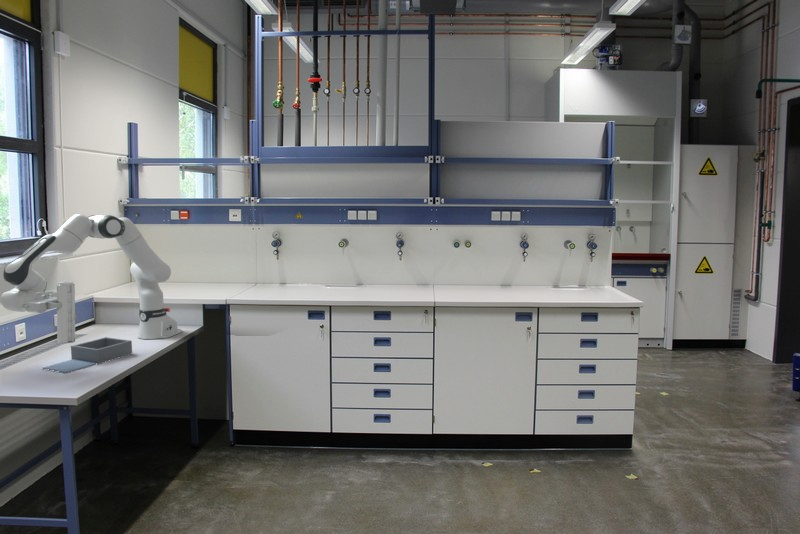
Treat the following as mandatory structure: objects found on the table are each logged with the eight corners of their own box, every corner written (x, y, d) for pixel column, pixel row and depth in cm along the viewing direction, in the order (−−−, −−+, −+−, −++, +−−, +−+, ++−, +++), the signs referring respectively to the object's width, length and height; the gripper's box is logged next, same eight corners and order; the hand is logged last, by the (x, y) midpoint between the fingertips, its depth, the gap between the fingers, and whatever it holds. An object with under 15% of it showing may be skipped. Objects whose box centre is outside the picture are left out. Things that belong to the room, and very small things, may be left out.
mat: (72, 360, 257) (72, 359, 257) (96, 364, 252) (96, 363, 252) (42, 369, 245) (42, 367, 244) (66, 373, 239) (66, 371, 239)
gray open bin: (106, 349, 275) (105, 337, 275) (132, 353, 269) (131, 340, 269) (71, 359, 259) (70, 346, 258) (98, 363, 253) (97, 350, 252)
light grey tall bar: (56, 343, 242) (55, 282, 240) (58, 340, 248) (57, 280, 246) (74, 343, 245) (74, 282, 242) (75, 339, 251) (75, 280, 248)
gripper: (17, 298, 237) (47, 300, 234) (56, 290, 257) (84, 292, 254) (18, 314, 238) (48, 316, 235) (57, 305, 258) (85, 306, 255)
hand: (67, 303), depth 245 cm, fingers closed on light grey tall bar, 5 cm apart
